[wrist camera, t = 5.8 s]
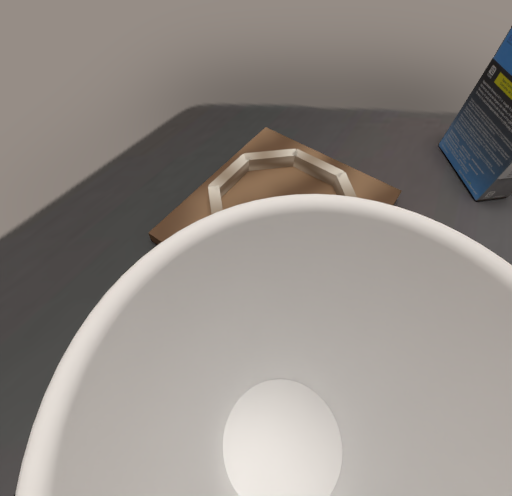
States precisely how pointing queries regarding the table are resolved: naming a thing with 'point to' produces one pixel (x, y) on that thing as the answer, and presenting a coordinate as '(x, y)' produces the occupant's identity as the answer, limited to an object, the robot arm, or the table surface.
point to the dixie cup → (289, 363)
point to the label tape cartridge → (485, 131)
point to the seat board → (272, 181)
